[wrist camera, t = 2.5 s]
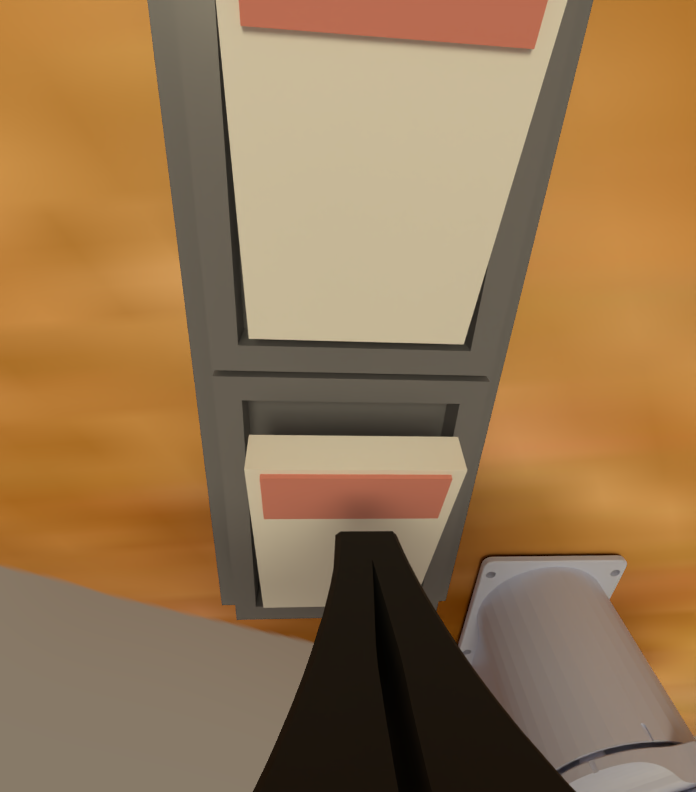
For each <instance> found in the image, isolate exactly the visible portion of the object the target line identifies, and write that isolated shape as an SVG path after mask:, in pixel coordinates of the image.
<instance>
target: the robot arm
mask: <svg viewBox="0 0 696 792" xmlns="http://www.w3.org/2000/svg"><path fill="white" fill-rule="evenodd" d="M626 566H627V562H626V560H625V559H624V558H623V557H622V556H619V555H596V556H507V557H488V558H486V559H485V560H483V562H482V564H481V567H480V571H479V574H478V578H477V581H476V585H475V588H474V591H473V595H472V598H471V602H470V605H469V609H468V612H467V616H466V619H465V623H464V626H463V630H462V633H461V637H460V640H459V644H458V645H457V643H456V642H455V640H454V639H453V637H452V636H451V634H450V633H449V631H448V630H447V628H446V626H445V625H444V623H443V622H442V620H441V618H440V617H439V615H438V613H437V612H436V610H435V608H434V607H433V605H432V603H431V602H430V600H429V598H428V597H427V595H426V593H425V591H424V590H423V588H422V586H421V584H420V582H419V581H418V579H417V577H416V575H415V573H414V571H413V569H412V567H411V565H410V563H409V561H408V559H407V557H406V555H405V553H404V551H403V549H402V547H401V544H400V542H399V540H398V537H397V535H396V534H395V533H394V532H393V531H340V532H339V533H338V534H336V535H335V549H334V566H333V573H332V578H331V584H330V588H329V592H328V596H327V600H326V604H325V608H324V612H323V616H322V620H321V623H320V626H319V629H318V632H317V636H316V639H315V642H314V645H313V648H312V651H311V655H310V657H309V660H308V663H307V666H306V669H305V672H304V675H303V677H302V680H301V682H300V685H299V688H298V690H297V693H296V695H295V698H294V701H293V703H292V706H291V708H290V711H289V713H288V715H287V718H286V720H285V722H284V725H283V727H282V729H281V732H280V734H279V736H278V739H277V741H276V743H275V746H274V748H273V750H272V753H271V755H270V757H269V759H268V761H267V763H266V766H265V768H264V770H263V772H262V774H261V776H260V778H259V780H258V782H257V784H256V787H255V789H254V791H253V792H696V740H695V738H694V736H693V735H692V733H691V732H690V730H689V728H688V727H687V725H686V723H685V722H684V720H683V719H682V717H681V715H680V714H679V712H678V710H677V709H676V707H675V706H674V704H673V702H672V701H671V699H670V697H669V696H668V694H667V693H666V691H665V689H664V688H663V686H662V684H661V683H660V681H659V680H658V678H657V676H656V675H655V673H654V671H653V670H652V668H651V667H650V665H649V663H648V662H647V660H646V658H645V657H644V655H643V654H642V652H641V650H640V649H639V647H638V645H637V644H636V642H635V641H634V639H633V637H632V636H631V634H630V632H629V631H628V629H627V628H626V626H625V624H624V623H623V621H622V619H621V618H620V616H619V615H618V613H617V611H616V610H615V608H614V606H613V605H612V603H611V602H610V600H609V599H610V597H611V595H612V593H613V591H614V590H615V588H616V586H617V584H618V582H619V580H620V578H621V576H622V574H623V572H624V570H625V568H626Z"/></svg>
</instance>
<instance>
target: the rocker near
mask: <svg viewBox="0 0 696 792" xmlns="http://www.w3.org/2000/svg"><path fill="white" fill-rule="evenodd" d="M566 4H567V0H216V8H217V18H218V28H219V39H220V49H221V59H222V69H223V80H224V90H225V100H226V110H227V121H228V131H229V141H230V151H231V162H232V172H233V182H234V192H235V203H236V213H237V223H238V233H239V244H240V254H241V264H242V274H243V285H244V295H245V305H246V315H247V325H248V336H249V339H276V340H315V341H353V342H391V343H429V344H464V342H465V338H466V335H467V332H468V328H469V325H470V322H471V318H472V315H473V312H474V309H475V305H476V302H477V299H478V295H479V292H480V289H481V285H482V282H483V279H484V275H485V272H486V269H487V265H488V262H489V259H490V256H491V252H492V249H493V246H494V242H495V239H496V236H497V232H498V229H499V226H500V222H501V219H502V216H503V212H504V209H505V206H506V203H507V199H508V196H509V193H510V189H511V186H512V183H513V179H514V176H515V173H516V169H517V166H518V163H519V159H520V156H521V153H522V150H523V146H524V143H525V140H526V136H527V133H528V130H529V126H530V123H531V120H532V116H533V113H534V110H535V106H536V103H537V100H538V97H539V93H540V90H541V87H542V83H543V80H544V77H545V73H546V70H547V67H548V63H549V60H550V57H551V53H552V50H553V47H554V43H555V40H556V37H557V34H558V30H559V27H560V24H561V20H562V17H563V14H564V10H565V7H566Z"/></svg>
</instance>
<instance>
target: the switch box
mask: <svg viewBox="0 0 696 792" xmlns="http://www.w3.org/2000/svg"><path fill="white" fill-rule="evenodd" d="M147 1H148V9H149V17H150V25H151V33H152V41H153V49H154V57H155V65H156V74H157V82H158V90H159V98H160V106H161V114H162V122H163V130H164V138H165V147H166V155H167V163H168V171H169V179H170V187H171V195H172V203H173V211H174V220H175V228H176V236H177V244H178V252H179V260H180V268H181V276H182V284H183V292H184V301H185V309H186V317H187V325H188V333H189V341H190V349H191V357H192V365H193V374H194V382H195V390H196V398H197V406H198V414H199V422H200V430H201V438H202V446H203V455H204V463H205V471H206V479H207V487H208V495H209V503H210V511H211V519H212V528H213V536H214V544H215V552H216V560H217V568H218V576H219V584H220V592H221V600H222V605H235V606H236V616H237V620H244V619H291V618H322V616H323V612H324V608H325V607H278V608H263V601H262V593H261V586H260V579H259V572H258V565H257V558H256V550H255V543H254V536H253V529H252V522H251V515H250V508H249V500H248V493H247V486H246V479H245V472H244V467H245V460H246V452H247V445H248V438H249V435H318V436H419V437H458V439H459V442H460V446H461V449H462V453H463V456H464V460H465V464H466V467H467V473H466V475H465V478H464V480H463V482H462V485H461V487H460V490H459V492H458V495H457V497H456V500H455V502H454V505H453V507H452V510H451V512H450V515H449V517H448V520H447V522H446V525H445V527H444V530H443V532H442V535H441V537H440V539H439V542H438V544H437V547H436V549H435V552H434V554H433V557H432V559H431V562H430V564H429V567H428V569H427V572H426V574H425V577H424V579H423V582H422V584H421V586H422V588H423V590H424V591H425V593H426V595H427V597H428V598H429V600H430V602H431V603H432V605H433V607H434V608H435V610H437V606H438V601H445V600H446V596H447V592H448V588H449V584H450V580H451V576H452V572H453V568H454V564H455V560H456V556H457V552H458V548H459V544H460V540H461V535H462V531H463V527H464V523H465V519H466V515H467V511H468V507H469V503H470V499H471V495H472V491H473V487H474V483H475V479H476V475H477V470H478V466H479V462H480V458H481V454H482V450H483V446H484V442H485V438H486V434H487V430H488V426H489V422H490V418H491V414H492V410H493V405H494V401H495V397H496V393H497V389H498V385H499V381H500V377H501V373H502V369H503V365H504V361H505V357H506V353H507V349H508V345H509V340H510V336H511V332H512V328H513V324H514V320H515V316H516V312H517V308H518V304H519V300H520V296H521V292H522V288H523V284H524V280H525V275H526V271H527V267H528V263H529V259H530V255H531V251H532V247H533V243H534V239H535V235H536V231H537V227H538V223H539V219H540V215H541V210H542V206H543V202H544V198H545V194H546V190H547V186H548V182H549V178H550V174H551V170H552V166H553V162H554V158H555V154H556V150H557V145H558V141H559V137H560V133H561V129H562V125H563V121H564V117H565V113H566V109H567V105H568V101H569V97H570V93H571V89H572V85H573V80H574V76H575V72H576V68H577V64H578V60H579V56H580V52H581V48H582V44H583V40H584V36H585V32H586V28H587V24H588V20H589V15H590V11H591V7H592V3H593V0H567V4H566V7H565V10H564V14H563V17H562V20H561V24H560V27H559V30H558V34H557V37H556V40H555V43H554V47H553V50H552V53H551V57H550V60H549V63H548V67H547V70H546V73H545V77H544V80H543V83H542V87H541V90H540V93H539V97H538V100H537V103H536V106H535V110H534V113H533V116H532V120H531V123H530V126H529V130H528V133H527V136H526V140H525V143H524V146H523V150H522V153H521V156H520V159H519V163H518V166H517V169H516V173H515V176H514V179H513V183H512V186H511V189H510V193H509V196H508V199H507V203H506V206H505V209H504V212H503V216H502V219H501V222H500V226H499V229H498V232H497V236H496V239H495V242H494V246H493V249H492V252H491V256H490V259H489V262H488V265H487V269H486V272H485V275H484V279H483V282H482V285H481V289H480V292H479V295H478V299H477V302H476V305H475V309H474V312H473V315H472V318H471V322H470V325H469V328H468V332H467V335H466V338H465V342H464V344H429V343H391V342H353V341H315V340H276V339H249V336H248V325H247V315H246V305H245V295H244V285H243V274H242V264H241V254H240V244H239V233H238V223H237V213H236V203H235V192H234V182H233V172H232V162H231V151H230V141H229V131H228V121H227V110H226V100H225V90H224V80H223V69H222V59H221V49H220V39H219V28H218V18H217V8H216V0H147Z"/></svg>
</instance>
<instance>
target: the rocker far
mask: <svg viewBox="0 0 696 792" xmlns="http://www.w3.org/2000/svg"><path fill="white" fill-rule="evenodd" d="M244 472H245V479H246V486H247V493H248V500H249V508H250V515H251V522H252V529H253V536H254V543H255V550H256V558H257V565H258V572H259V579H260V586H261V593H262V601H263V608H278V607H325V604H326V600H327V596H328V592H329V588H330V584H331V578H332V573H333V566H334V549H335V535H336V534H338V533H339V532H340V531H393V532H394V533H395V534H396V535H397V537H398V540H399V542H400V544H401V547H402V549H403V551H404V553H405V555H406V557H407V559H408V561H409V563H410V565H411V567H412V569H413V571H414V573H415V575H416V577H417V579H418V581H419V582H420V584H422V582H423V579H424V577H425V574H426V572H427V569H428V567H429V564H430V562H431V559H432V557H433V554H434V552H435V549H436V547H437V544H438V542H439V539H440V537H441V535H442V532H443V530H444V527H445V525H446V522H447V520H448V517H449V515H450V512H451V510H452V507H453V505H454V502H455V500H456V497H457V495H458V492H459V490H460V487H461V485H462V482H463V480H464V478H465V475H466V473H467V467H466V464H465V460H464V456H463V453H462V449H461V446H460V442H459V439H458V437H419V436H318V435H249V438H248V445H247V452H246V460H245V467H244Z"/></svg>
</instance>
